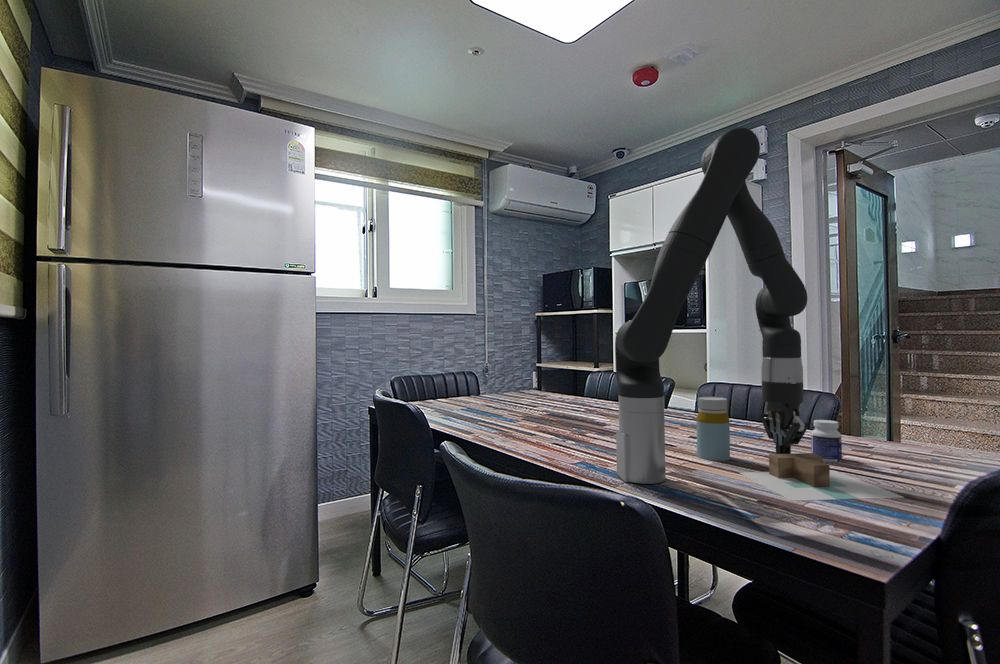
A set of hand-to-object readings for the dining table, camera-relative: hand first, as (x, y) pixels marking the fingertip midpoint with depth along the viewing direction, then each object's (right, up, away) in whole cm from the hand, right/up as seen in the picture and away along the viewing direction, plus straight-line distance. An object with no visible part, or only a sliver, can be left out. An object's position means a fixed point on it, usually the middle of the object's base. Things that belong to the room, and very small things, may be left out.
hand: (783, 462), depth 102 cm
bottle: (-10, -3, +12) cm, 15 cm away
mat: (0, -3, -9) cm, 10 cm away
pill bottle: (+15, -3, +9) cm, 17 cm away
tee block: (0, -2, -7) cm, 7 cm away
